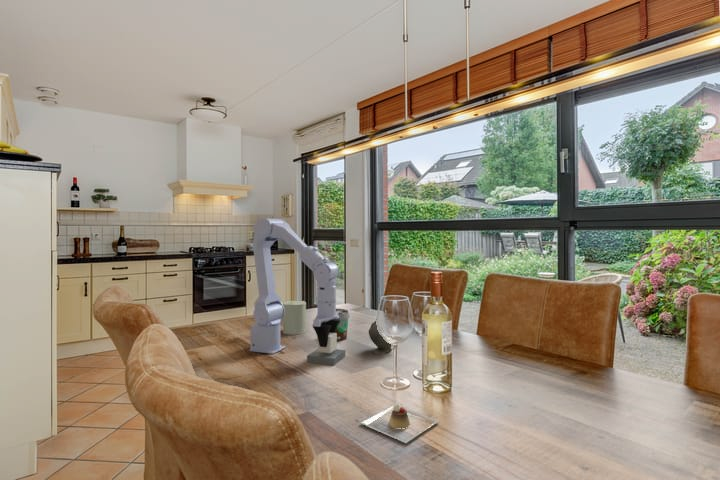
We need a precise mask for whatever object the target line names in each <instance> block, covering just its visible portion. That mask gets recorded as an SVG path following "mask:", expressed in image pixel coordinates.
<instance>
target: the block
mask: <svg viewBox="0 0 720 480" xmlns="http://www.w3.org/2000/svg"><path fill="white" fill-rule="evenodd" d="M316 340H317V342H316V343H317V345H316V347H317V348H316V349H317V351H319V352H326V353H331V352H333V351H334V350H336V349H338V347H337V346H338V345H337V344H338V343H337V342H338V341H337V333H330V332H329V335H328V342H327V347H320V345H319V341H318V337H317V339H316Z"/></svg>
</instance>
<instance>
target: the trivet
mask: <svg viewBox="0 0 720 480" xmlns="http://www.w3.org/2000/svg"><path fill="white" fill-rule="evenodd" d="M345 357H346V349H338V348H337V349H336V350H334V351H333V352H331V353H326V352H319V351H317V348H316V349H315V350H314V351H312V352H310V353H309V354H307V355H306V362H307V363H313V364H322V365H328V366H335V365H336V364H338V363H339V362H340V361H341V360H343V359H344V358H345Z"/></svg>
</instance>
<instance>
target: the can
mask: <svg viewBox="0 0 720 480" xmlns="http://www.w3.org/2000/svg"><path fill="white" fill-rule="evenodd" d="M282 304H283V306H284V309H285V314H284V316H283V318H282V333H283V334H284V335H290V336H294V335H295V336H296V335H302V334H305V333H307V319H306V318H307V302H306V301H305V300H304V301H303V300H287V301H284V302H282Z"/></svg>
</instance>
